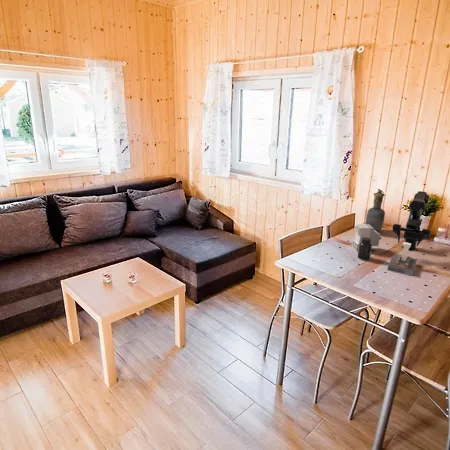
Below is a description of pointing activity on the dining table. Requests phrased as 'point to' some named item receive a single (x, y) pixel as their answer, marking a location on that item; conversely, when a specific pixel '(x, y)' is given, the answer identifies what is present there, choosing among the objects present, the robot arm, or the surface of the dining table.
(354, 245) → the circuit breaker
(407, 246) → the handle
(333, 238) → the dining table surface
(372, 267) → the dining table surface
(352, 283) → the dining table surface
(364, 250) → the supplement bottle
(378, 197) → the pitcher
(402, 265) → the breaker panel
